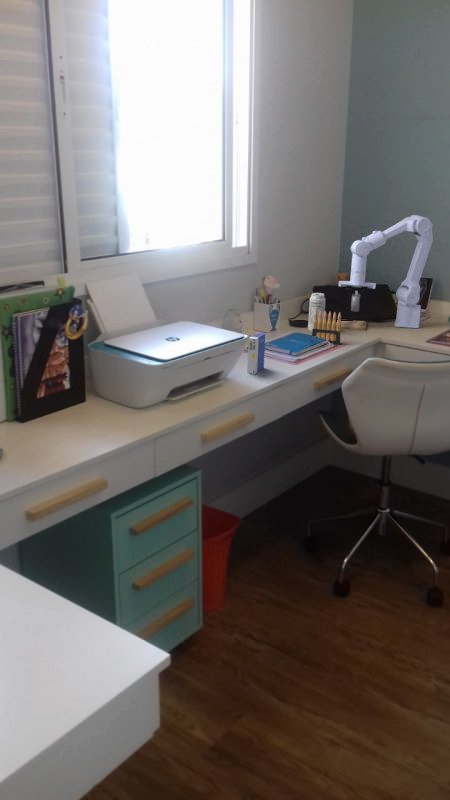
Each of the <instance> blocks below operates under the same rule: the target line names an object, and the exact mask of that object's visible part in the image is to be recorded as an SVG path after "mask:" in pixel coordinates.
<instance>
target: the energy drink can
mask: <svg viewBox="0 0 450 800" xmlns="http://www.w3.org/2000/svg"><path fill="white" fill-rule="evenodd" d="M308 307H309V308H308V323H307V330H308V332H309V333H311V334H312V330H313V320H314V314H315V311H317V326H318V319H319V313H320V311H321V312H322V322H323V316H324V312H325V311H326V310H325V309H326V297H325V293H321V292H313V293H311V295H310V297H309V306H308Z"/></svg>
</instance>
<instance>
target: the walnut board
mask: <svg viewBox="0 0 450 800" xmlns="http://www.w3.org/2000/svg"><path fill="white" fill-rule="evenodd" d="M336 326H337V322H336ZM341 329H343V330H355V331H367V321H365V320H353V321H341Z"/></svg>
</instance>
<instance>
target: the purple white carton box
mask: <svg viewBox="0 0 450 800" xmlns="http://www.w3.org/2000/svg"><path fill="white" fill-rule="evenodd" d="M265 346H266V333H264V332H258V331H257V332H256V333H254V334H252V335H251V336H250V337H248V347H247V348H248V349H247V351H248V352H247V371H246V372H247V373H248V374H251V375H255V374H257V373H258V372H260V371H261V370H262V369H264V367H265V348H266V347H265Z"/></svg>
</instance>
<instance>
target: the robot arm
mask: <svg viewBox="0 0 450 800" xmlns="http://www.w3.org/2000/svg"><path fill="white" fill-rule="evenodd" d="M433 227H434V225H433V223H432V221H431V219H430V218H428V217H427V216H421V215H418V214H412V215H410V216H407V217H405V218H403V219H402V220H400V221H399V222H397V223H396V224H394V225H392V226H390V227H388V228H387V229H385V230H383V231H381V230H374V231H372V233H371V234H369V235H367V236H363V237H362V238H361V240H360V239H358V240H355V241H353V243H352V244H351V246H350V248H349V249H350V251H351V255H352V256H351V267H350V268H351V269H350V280H339V281H338V287H345V291H346V293H347V296H348V301H349V306H351V302H352V294H353V288H361V289H360V304H359V307H361V306H362V302H363V299H364V298H365V296H366V294H367V292H368V289H373V290H375V289H376V285H377V283H376V282H369V281H365V280H366V270H367V257H368V255H369V254H370V252H372V251H373V250H376V249H378V248H380V247H381V246H382V245H385V244H386V242H387V240H388V239H391V238H393V237H395V236H397V235H400V234H401V233H404V232H411V233H413V235H414V236H415V237H416V240H417V244H416V247H415V250H414V253H413V256H412V258H411V263H410V266H409V268H408V271H407V275H406V278H405V279H404V280H403V281H402V282H401V283H400V286H399V287H398V288H397V290H396V293H395V294H396V296H395V297H396V298H397V301H398V302H397V308H396V319H395V321H394V327H397V328H409V329H419V328H420V324H421V323H420V321H421V319H420V318H421V309H422V305H420V304H418V302H419V300H420V297H421V296H420V292H421V286H420V280H421V277H422V274H423V272H424V268H425V265H426V263H427V259H428V256H429V253H430V251H431V247H432V244H433V241H434V234H433Z"/></svg>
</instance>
